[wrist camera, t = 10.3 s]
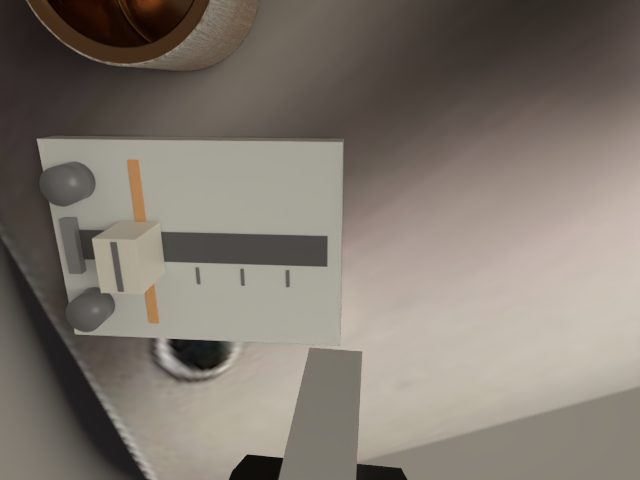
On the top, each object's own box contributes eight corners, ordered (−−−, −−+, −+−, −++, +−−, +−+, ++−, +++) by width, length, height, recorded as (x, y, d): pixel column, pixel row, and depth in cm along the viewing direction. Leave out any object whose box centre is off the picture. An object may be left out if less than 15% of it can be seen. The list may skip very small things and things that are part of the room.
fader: (120, 221, 35) (91, 239, 31) (159, 222, 35) (134, 240, 31) (128, 270, 36) (100, 293, 32) (165, 271, 36) (142, 295, 32)
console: (53, 135, 35) (15, 142, 31) (343, 138, 34) (341, 146, 30) (88, 322, 41) (58, 348, 37) (340, 333, 39) (338, 361, 35)
